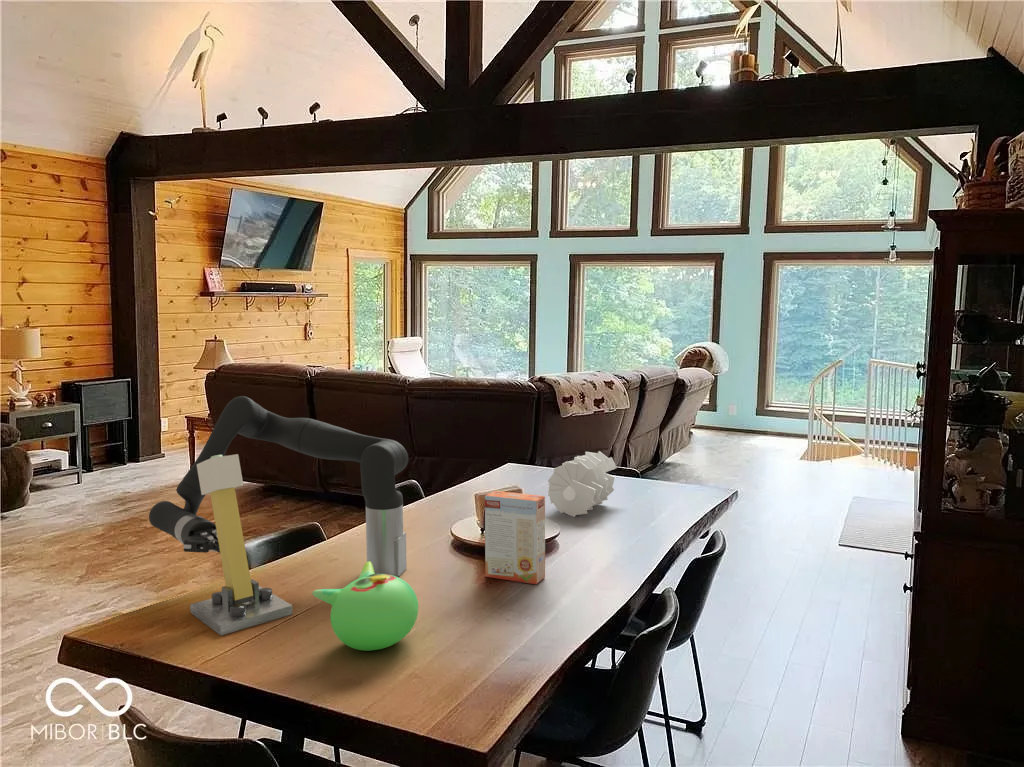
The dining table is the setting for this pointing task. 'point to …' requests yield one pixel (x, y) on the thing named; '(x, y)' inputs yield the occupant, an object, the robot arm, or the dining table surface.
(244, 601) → the post
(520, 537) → the cracker box
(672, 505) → the dining table surface
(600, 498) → the spiral staircase
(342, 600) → the green horned blob
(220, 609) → the tripod base plate
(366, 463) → the robot arm
